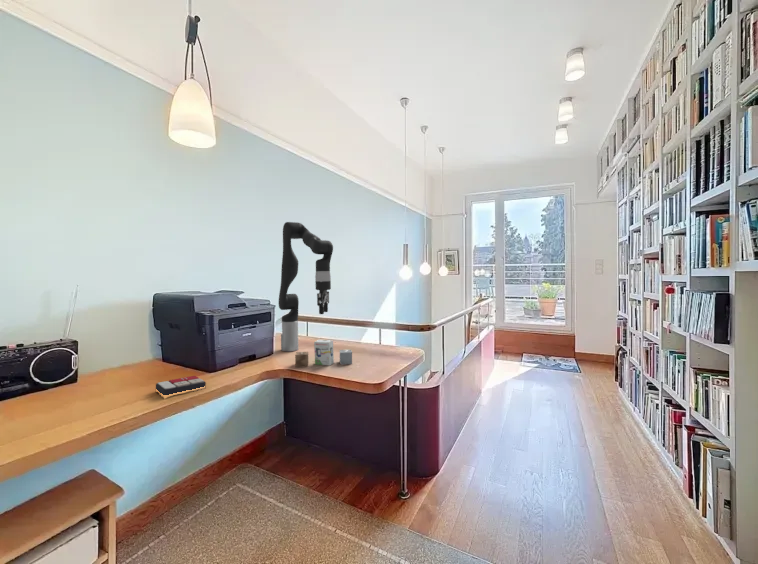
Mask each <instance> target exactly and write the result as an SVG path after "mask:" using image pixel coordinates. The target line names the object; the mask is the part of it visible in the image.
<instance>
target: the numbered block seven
mask: <svg viewBox="0 0 758 564" xmlns="http://www.w3.org/2000/svg"><path fill="white" fill-rule="evenodd" d="M339 363H340V364H341V365H353V351H352V349H339ZM340 364H339V365H340Z"/></svg>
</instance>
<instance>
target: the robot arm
mask: <svg viewBox="0 0 758 564" xmlns="http://www.w3.org/2000/svg"><path fill="white" fill-rule="evenodd" d="M299 239H300V240H302V243H303V245H305V246H306V247H308V248H309V249H310V250H311V252H312V253H313V254H315V255H322V258H320V259H317V260H315V276H314V278H315V282H314V283H315V290H317V291H319V292H317V293H316V302H317V306H318V314H319V315H324V313H328V311H329V307H328V306H329V303H330V292H329V290H332V289H331V288H332V285H331V284H332V283H331V282H332V281H331V280H332V279H331V277H332V276H331V267H330V266H331V261H332V260H331V259H332V255H333V252H334V244H333V242H332V241H330V240H326V239H325V240H323V239H321V238H320V237H319V236H318V235H316V234H314V233H312V232H310V230H309V228H306V226H305V225H304V224H303V223H302V222H295V221H294V222H293V221H286V222H285V223H284V224H283V227H282V258H281V259H282V260H281V268H280V269H281V271H280V272H281V273H280V274H281V275H280V277H281V278H280V287H279V293H278V308H279V309H280V310H281V311H288V310H289V312H288V313H286V314H285V315H282V317H281V334H280V351H283V352H296V351H298V350H299V303H300V302H299V296H298V294H296V293H288V292H289V291H288V290H289V287H290V286H291V284H292V283H293V282H294V280H295V279H296V278H297V275H298V273H299V260H298V257H297V255H296V254H295V252H294V250H293V248H292V240H299Z"/></svg>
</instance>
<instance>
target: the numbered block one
mask: <svg viewBox="0 0 758 564" xmlns="http://www.w3.org/2000/svg"><path fill="white" fill-rule="evenodd" d="M295 352H296V351H295ZM294 358H295V361H294V362H295V368H303V367H304V368H305V367H309V363H310V362H309V351H297V352H296V353H295V357H294Z"/></svg>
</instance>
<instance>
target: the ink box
mask: <svg viewBox="0 0 758 564" xmlns="http://www.w3.org/2000/svg"><path fill="white" fill-rule="evenodd" d="M313 346H314V364H315V365H317V366H331V365H333V364H334V363H335V359H334V340H332V339H331V340H330V339H317V340H315V341H314V342H313Z"/></svg>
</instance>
